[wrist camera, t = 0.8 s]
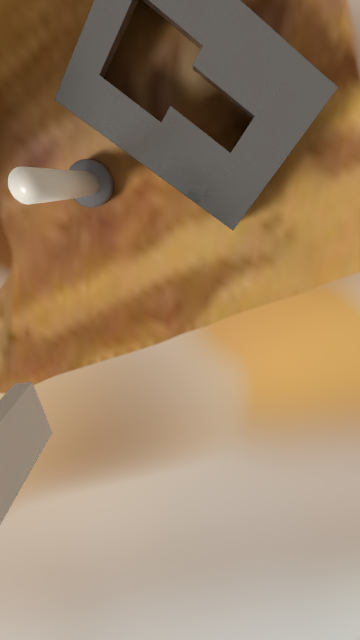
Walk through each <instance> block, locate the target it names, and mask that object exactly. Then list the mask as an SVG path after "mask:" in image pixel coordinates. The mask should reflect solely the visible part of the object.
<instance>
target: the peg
mask: <svg viewBox="0 0 360 640" xmlns="http://www.w3.org/2000/svg"><path fill="white" fill-rule="evenodd" d="M8 186H9V190H10V192H11V194H12V195H13V197H14V198H15V199H16V200H18V201H19V202H21V203H23V204H36V203H43V202H51V201H58V200H66V199H73V198H74V200H75V201H77V202H78V203H79V204H81V205H83V206H86V207H96V206H100V205H103V204H105V203H106V202H107V201H108V200H109V199H110V198H111V196H112V194H113V190H114V182H113V178H112V175H111V173H110V171H109V170H108V169H107V168H106V166H104V165H103V164H102V163H100V162H98V161H94V160H87V159H84V160H79V161H77V162H75V163H74V164H73V165H72V166H71V167H70V169H69V170H62V169H48V168H34V167H17V168H15V169H13V170H12V171H11V172H10V174H9V177H8Z"/></svg>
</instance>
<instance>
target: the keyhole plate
mask: <svg viewBox="0 0 360 640" xmlns="http://www.w3.org/2000/svg"><path fill="white" fill-rule="evenodd" d="M138 1H139V0H94V2H93V4H92V7H91V9H90V12H89V14H88V17H87V19H86V22H85V24H84V27H83V29H82V32H81V34H80V37H79V39H78V42H77V44H76V47H75V49H74V52H73V54H72V57H71V59H70V62H69V64H68V67H67V69H66V72H65V75H64V77H63V80H62V82H61V85H60V87H59V90H58V92H57V95H56V97H55V100H56V101H57V102H58V103H60V104H61V105H63V106H64V107H65V108H67V109H68V110H69V111H71V112H72V113H73V114H75V115H76V116H78V117H79V118H80V119H82V120H83V121H84V122H86V123H87V124H88V125H90V126H91V127H93V128H94V129H95V130H97V131H98V132H99V133H101V134H102V135H103V136H105V137H106V138H108V139H109V140H110V141H112V142H113V143H114V144H116V145H117V146H118V147H120V148H121V149H123V150H124V151H125V152H127V153H128V154H129V155H131V156H132V157H133V158H135V159H136V160H138V161H139V162H140V163H142V164H143V165H144V166H146V167H147V168H148V169H150V170H151V171H153V172H154V173H155V174H157V175H158V176H159V177H161V178H162V179H163V180H165V181H166V182H168V183H169V184H170V185H172V186H173V187H174V188H176V189H177V190H178V191H180V192H181V193H183V194H184V195H185V196H187V197H188V198H189V199H191V200H192V201H193V202H195V203H196V204H198V205H199V206H200V207H202V208H203V209H204V210H206V211H207V212H208V213H210V214H211V215H213V216H214V217H215V218H217V219H218V220H219V221H221V222H222V223H223V224H225V225H226V226H228V227H229V228H230V229H232V230H234V228H235V227H236V226H237V224H238V223H239V222H240V220H241V219H242V218H243V216H244V215H245V214H246V212H247V211H248V209H249V208H250V207H251V205H252V204H253V203H254V201H255V200H256V199H257V197H258V196H259V194H260V193H261V192H262V190H263V189H264V188H265V186H266V185H267V184H268V182H269V181H270V179H271V178H272V177H273V175H274V174H275V173H276V171H277V170H278V169H279V167H280V166H281V164H282V163H283V162H284V160H285V159H286V158H287V156H288V155H289V154H290V152H291V151H292V149H293V148H294V147H295V145H296V144H297V143H298V141H299V140H300V139H301V137H302V136H303V134H304V133H305V132H306V130H307V129H308V128H309V126H310V125H311V124H312V122H313V121H314V119H315V118H316V117H317V115H318V114H319V113H320V111H321V110H322V109H323V107H324V106H325V104H326V103H327V102H328V100H329V99H330V98H331V96H332V95H333V94H334V92H335V91H336V90H337V88H338V87H337V86H336V85H335V84H334V83H333V82H332V81H330V80H329V79H328V78H327V77H326V76H325V75H324V74H323V73H321V72H320V71H319V70H318V69H317V68H316V67H315V66H314V65H312V64H311V63H310V62H309V61H308V60H307V59H306V58H305V57H303V56H302V55H301V54H300V53H299V52H298V51H297V50H296V49H295V48H293V47H292V46H291V45H290V44H289V43H288V42H287V41H286V40H284V39H283V38H282V37H281V36H280V35H279V34H278V33H277V32H275V31H274V30H273V29H272V28H271V27H270V26H269V25H268V24H266V23H265V22H264V21H263V20H262V19H261V18H260V17H259V16H257V15H256V14H255V13H254V12H253V11H252V10H251V9H250V8H248V7H247V6H246V5H245V4H244V3H243V2H242V1H241V0H143V1H144V2H145V3H146V4H147V5H149V6H150V7H151V8H152V9H153V10H155V11H156V12H157V13H158V14H159V15H160V16H162V17H163V18H164V19H165V20H166V21H168V22H169V23H170V24H171V25H172V26H174V27H175V28H176V29H177V30H178V31H180V32H181V33H182V34H183V35H184V36H186V37H187V38H188V39H189V40H190V41H192V42H193V43H194V44H195V45H196V46H198V47H199V48H200V49H201V51H200V53H199V54H198V56H197V58H196V60H195V62H194V64H193V70H194V71H195V72H197V73H198V74H199V75H200V76H202V77H203V78H204V79H205V80H206V81H208V82H209V83H210V84H211V85H213V86H214V87H215V88H216V89H217V90H219V91H220V92H221V93H222V94H224V95H225V96H226V97H227V98H228V99H230V100H231V101H232V102H233V103H235V104H236V105H237V106H238V107H239V108H241V109H242V110H243V111H244V112H245V113H247V114H248V115H249V116H250V117H252V118H253V119H252V121H251V123H250V124H249V126H248V127H247V129H246V130H245V132H244V133H243V135H242V136H241V138H240V139H239V141H238V142H237V144H236V145H235V147H234V148H233V150H232V151H231V153H230V152H229V151H227V150H226V149H225V148H224V147H222V146H221V145H220V144H218V143H217V142H216V141H215V140H213V139H212V138H211V137H210V136H208V135H207V134H206V133H204V132H203V131H202V130H201V129H199V128H198V127H197V126H196V125H194V124H193V123H192V122H190V121H189V120H188V119H187V118H185V117H184V116H183V115H181V114H180V113H179V112H178V111H176V110H175V109H174V108H173V107H171V106H170V108H169V109H168V111H167V113H166V115H165V117H164V119H163V120H162V122H160V121H159V120H157V119H156V118H155V117H153V116H152V115H151V114H149V113H148V112H147V111H146V110H144V109H143V108H142V107H140V106H139V105H138V104H136V103H135V102H134V101H133V100H131V99H130V98H129V97H127V96H126V95H125V94H123V93H122V92H121V91H120V90H118V89H117V88H116V87H114V86H113V85H112V84H110V83H109V82H108V81H107V80H105V79H104V77H105V74H106V72H107V70H108V68H109V66H110V63H111V61H112V59H113V57H114V54H115V52H116V50H117V48H118V45H119V43H120V41H121V39H122V36H123V34H124V32H125V30H126V28H127V25H128V23H129V21H130V19H131V16H132V14H133V12H134V10H135V7H136V5H137V3H138Z"/></svg>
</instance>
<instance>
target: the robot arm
mask: <svg viewBox="0 0 360 640" xmlns="http://www.w3.org/2000/svg"><path fill="white" fill-rule="evenodd" d="M51 434H52V430H51V428H50V425H49V423H48V420H47V418H46V415H45V413H44V410H43V408H42V406H41V403H40V400H39V398H38V395H37V393H36V391H35V388H34V385H33V383H32V382H27V383H15V384H14V385H13V386H12V387H11V388H10V389H9V390H8V392H7V393H6V394H5V395H4V396H3V397H2V399H1V400H0V524H1V522H2V520H3V519H4V517H5V515H6V514H7V512H8V510H9V508H10V506H11V505H12V503H13V501H14V499H15V498H16V496H17V494H18V492H19V490H20V489H21V487H22V485H23V484H24V482H25V480H26V478H27V476H28V474H29V473H30V471H31V469H32V468H33V466H34V464H35V462H36V461H37V459H38V457H39V455H40V454H41V452H42V450H43V448H44V447H45V445H46V443H47V441H48V439H49V438H50V436H51Z"/></svg>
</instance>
